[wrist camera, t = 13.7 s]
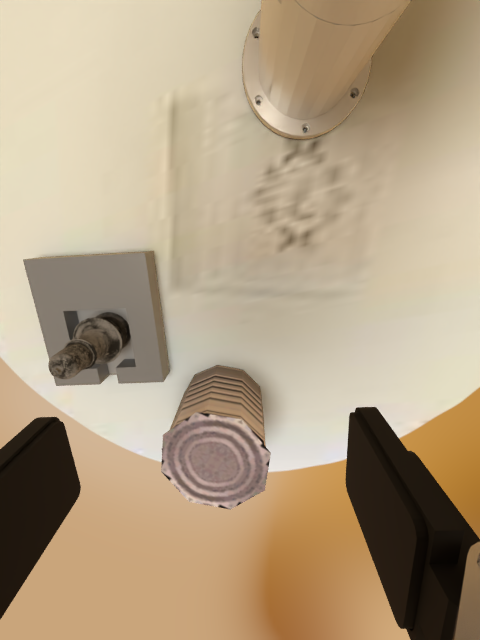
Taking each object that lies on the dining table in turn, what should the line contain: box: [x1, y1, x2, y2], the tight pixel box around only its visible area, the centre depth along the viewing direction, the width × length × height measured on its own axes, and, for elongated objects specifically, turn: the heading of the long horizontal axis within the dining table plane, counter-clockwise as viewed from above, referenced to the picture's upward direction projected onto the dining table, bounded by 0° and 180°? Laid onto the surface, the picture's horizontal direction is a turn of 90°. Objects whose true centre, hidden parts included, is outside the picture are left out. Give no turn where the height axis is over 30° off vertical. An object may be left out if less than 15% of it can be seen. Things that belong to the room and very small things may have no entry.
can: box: [161, 365, 271, 509], centre depth 36 cm, size 11×11×12 cm
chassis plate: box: [23, 251, 170, 386], centre depth 37 cm, size 16×14×3 cm
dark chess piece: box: [49, 312, 131, 379], centre depth 33 cm, size 6×6×12 cm
